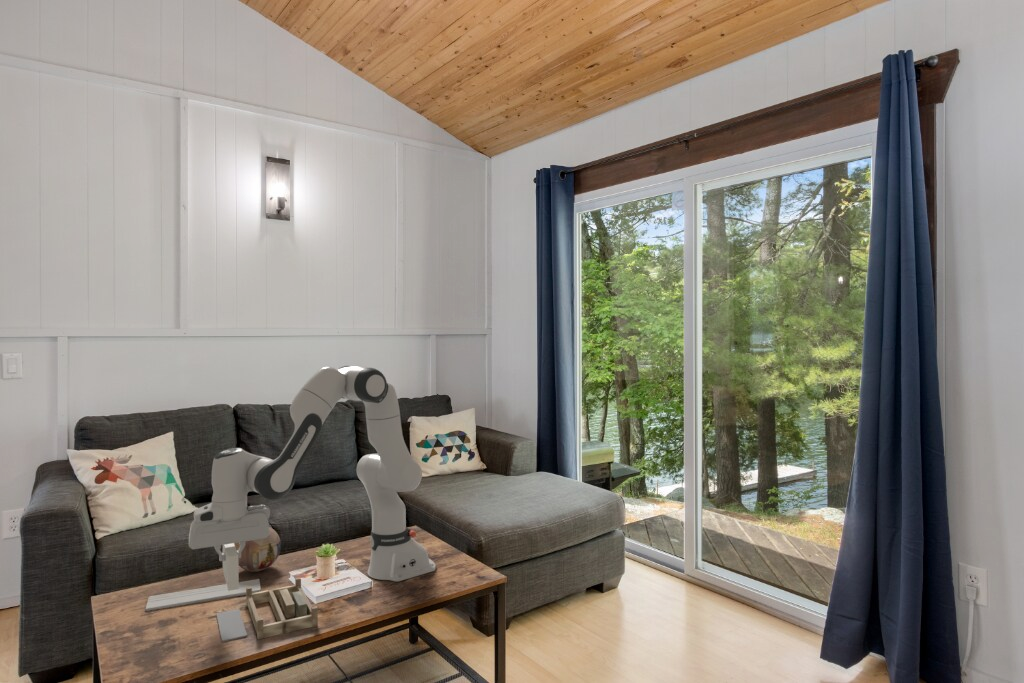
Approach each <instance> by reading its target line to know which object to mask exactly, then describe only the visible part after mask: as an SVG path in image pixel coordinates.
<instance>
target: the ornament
mask: <svg viewBox="0 0 1024 683" xmlns="http://www.w3.org/2000/svg"><path fill="white" fill-rule="evenodd" d="M269 532H270V534H269V536H268V537H267V538H264V539H257V540H251V541H245V547H244V548H243V550H242V552H241V558H238V567H240V568H241V569H242V570H244V571H247V572H252V573H256V572H261V571H264V570H266V569H269V568H270V567H271V566H273V564H275V563H276V561H277V559H278V557H279V556H280V554H281V549H282V541H281V538H280V535H279V534H278V532H277V531H276V530H275V529H273V528H272V527H270V526H269ZM234 544H235V547H236V550H238V549H239V547H240V544H239V542H238V543H234Z"/></svg>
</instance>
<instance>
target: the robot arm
mask: <svg viewBox="0 0 1024 683" xmlns="http://www.w3.org/2000/svg"><path fill="white" fill-rule="evenodd" d="M341 399H345V400H348V401H352V402H362V403H363V405H364V408H365V421H366V431H367V438H368V442H369V444H370V445H371V446H372V447H373V448H374V449H375V450H376V452H377V453H369V454H365V455H363V456H362V457H361V458H360V459H359V461H358V462H357V464H356V470H355V471H356V476H357V478H358V479H359V481H360V482H361V483H362V484H363V486H364V488H365V490H366V493H367V494H366V495H367V496H368V500H369V503H370V509H371V531H370V549H371V551H370V552H371V553H370V560H369V566H368V570H367V575H368V576H369V577H370V578H372V579H374V580H375V579H376V580H381V581H391V582H397V583H398V582H402V581H406V580H408V579H411V578H414V577H418V576H422V575H424V574H429V573H431V572H434V571H436V569H437V568H436V563H435V562H434V561H433V560H432V559H431V558H429V554H428V553H429V552H428V551H427V549H426V548H425V546H424V545H422V544H421V543H419V542H418V541H416V540H415V539H413V538H415V537H416V536H417V532H416V531H415V530H413V529H410V528H409V527H407V525H406V524H407V520H406V518H407V516H406V515H407V512H406V511H407V510H406V508H407V507H406V504H405V503H404V501H403V500H402V499H401V498H400V496H399V495H398V492H399V493H401V492H403V493H404V492H412V491H414V490H416V489H417V488H418V487H419V485H420V483H421V481H422V478H423V471H422V468H421V465H420V464H419V463H418V462H417V461H416V460H415V459H414V458H413V456H412V455H411V453H410V451H409V448H408V446H407V445H406V442H405V440H404V435H403V428H402V421H401V420H402V419H401V412H400V406H399V401H398V396H397V392H396V390H395V386H393V385H392V384H391V383H389V382H388V381H387V379H386V377H385V375H384V374H383V373H382V372H381V371H380V370H379V369H376V368H374V367H367V366H362V365H354V366H350V365H343V366H340V367H338V368H335V367H331V366H324V367H321V368H320V369H319V370H317V371H316V372H315V373H314V374H312V376H311V377H310V378H309V379H308V380H307V381H306V382H305V384H304V385H303V386H302V387H301V388H300V390H299V391H298V392H297V394H296V395H295V396H294V398H293V400H292V402H291V404H290V406H289V415H290V418H291V419H292V422H293V424H294V429H293V430H294V431H293V432H292V435H291V436H290V439H289V440H288V442H287V443H286V445H285V446H284V447H283V449H282V451H281V453H280V454H279V456H277V457H276V458H274V459H272V458H269V457H266V456H261V455H257V454H254V453H250V452H249V451H246V450H244V449H243V448H241V447H234V448H227V449H224V450H221V451H219V452H218V453H217V454H216V455H215V456H214V457H213V461H212V466H211V467H212V468H211V486H212V491H213V493H212V496H211V502H210V503H208V504H205V505H203V506H200V507H198V508H196V509H194V512H193V520H192V522H190V525H189V526H190V527H189V534H188V547H189V549H191V550H198V549H205V548H206V549H207V548H212V547H214V550H215V551H216V553H217V554H218V558H219V562H223V561H224V560H226V558H225V557H226V556H225V552H224V553H223V551H221V548H222V546H223V545H225V544H232V543H238V542H239V544H240V547H239V549H238V550H237V553H238V558H241V552H242V550H243V548H244V547H245V541H251V540H257V539H264V538H267V537H268V536H269V534H270V532H269V527H270V525H269V524H270V523H269V519H270V517H271V509H270V508H269V506H267V505H265V504H259V505H250V506H248V493H249V492H254V493H257V494H259V495H260V496H262V497H263V498H264V499H267V500H271V501H274V500H280V499H282V498H283V497H285V496H286V495H288V494H289V493H290V492H291V490H292V489H293V487H294V486H295V482H296V479H297V474H298V472H299V469H300V467H301V465H302V464H303V462H304V460H305V458H306V457H307V456H308V454H309V453H310V450H311V448H313V445H314V444H315V442H316V440H317V438H318V437H319V435H320V433H321V431H322V428H323V424H324V422H326V421H325V420H326V419H327V418H328V416H329V415H330V413H331V412H332V410H333V409H334V407H335V406H336V404H337V403H338V402H339V401H340V400H341Z"/></svg>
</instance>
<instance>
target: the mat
mask: <svg viewBox="0 0 1024 683" xmlns="http://www.w3.org/2000/svg"><path fill="white" fill-rule="evenodd" d="M242 617H243V616H242V615H241V610H240V608H237V609H232V610H231V609H230V610H227V611H226V610H225V611H221V612H216V620H217V624H218V629H219V635H220V639H221V642H222V643H224V642H228V641H234V640H237V639H238V640H239V639H242V638H246V637H248V634H247V631H246V627H245V624H244V621H243V618H242Z"/></svg>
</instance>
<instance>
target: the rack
mask: <svg viewBox="0 0 1024 683" xmlns="http://www.w3.org/2000/svg"><path fill="white" fill-rule="evenodd" d="M283 589H287V590H288V592H289V594H290V596H291V598H292V592H297V591H300V592H301V594H302V596H303V597H304V599H305V601H306V603H307V616H303V617H298V618H297V617H295V618H293V617H292V618H289V619H286V617H285V614H283V613H284V612H282V611H283V610H282V608H281V607H280V606H281V605H280V603H279V601H278V600H279V590H283ZM245 598H246V601H245V603H246V604H245V605H246V606H247V608H248V611H249V614H250V617H251V620H252V623H253V626H254V629H255V632H256V639H257V640H262V639H265V638H269V637H273V636H274V637H275V636H278V635H283V634H287V633H291V632H297V631H300V630H304V629H309V628H314V627H318V626H319V622H318V621H319V618H318V617H319V616H318V613H319V610H318V609H319V607H318V606H317V605H315V606H312V604H311V602H310V600H309V599H308V596H307V595H306V593H305V591H304V589H303V587H302V578H301V577H300V576H299V577H296V578H295V584H293V585H287V586H283V587H277V588H272V589H267V590H263V591H262V590H261V592H256V593H252V587H246V595H245ZM267 602H269V604H270V606H271V610H272V611H273V612H272V613H273V614H274V617H275V619H276V622H271V623H268V624H264V618H263V617H260V616H259V614H258V610H257V607H256V604H262V603H267Z"/></svg>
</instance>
